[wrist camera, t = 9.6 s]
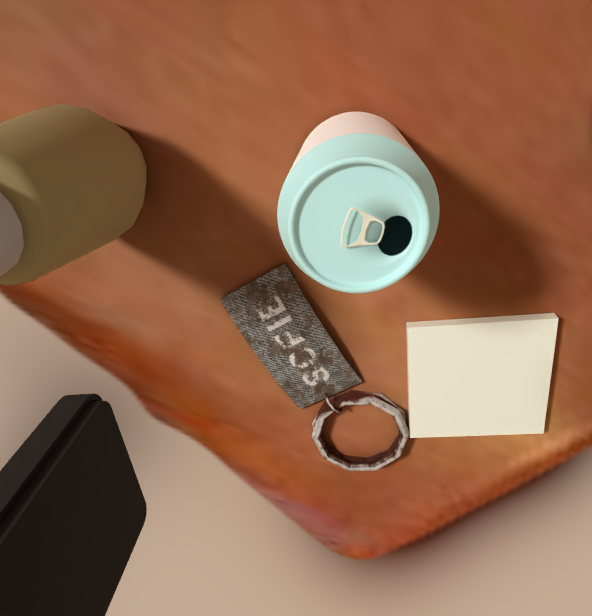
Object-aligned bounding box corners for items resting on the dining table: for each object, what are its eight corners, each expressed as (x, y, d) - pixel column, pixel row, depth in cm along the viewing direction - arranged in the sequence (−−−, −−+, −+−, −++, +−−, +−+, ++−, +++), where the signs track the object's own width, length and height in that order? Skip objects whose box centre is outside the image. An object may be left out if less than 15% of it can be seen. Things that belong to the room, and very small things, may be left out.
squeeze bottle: (178, 128, 30) (-9, 204, 14) (150, 243, 34) (-23, 406, 18) (51, 78, 29) (-297, 97, 13) (37, 200, 33) (-250, 330, 17)
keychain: (304, 249, 34) (302, 259, 32) (423, 439, 40) (427, 456, 38) (214, 299, 36) (207, 311, 34) (341, 471, 42) (341, 489, 41)
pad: (553, 312, 33) (558, 318, 33) (539, 426, 38) (543, 433, 37) (406, 322, 35) (407, 327, 34) (409, 431, 39) (410, 437, 38)
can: (386, 89, 28) (412, 105, 17) (426, 199, 31) (469, 272, 20) (278, 142, 30) (242, 186, 19) (324, 241, 33) (314, 329, 22)
